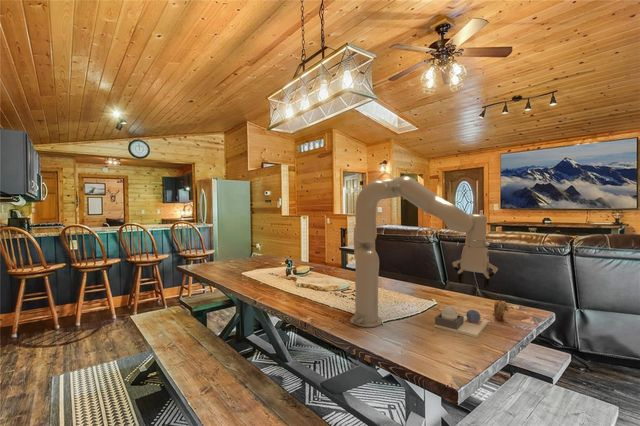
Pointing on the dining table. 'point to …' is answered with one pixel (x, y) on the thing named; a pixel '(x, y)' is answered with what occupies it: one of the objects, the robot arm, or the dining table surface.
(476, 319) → the decorative dice
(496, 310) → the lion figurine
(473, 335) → the game board
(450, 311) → the dome button
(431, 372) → the dining table surface
